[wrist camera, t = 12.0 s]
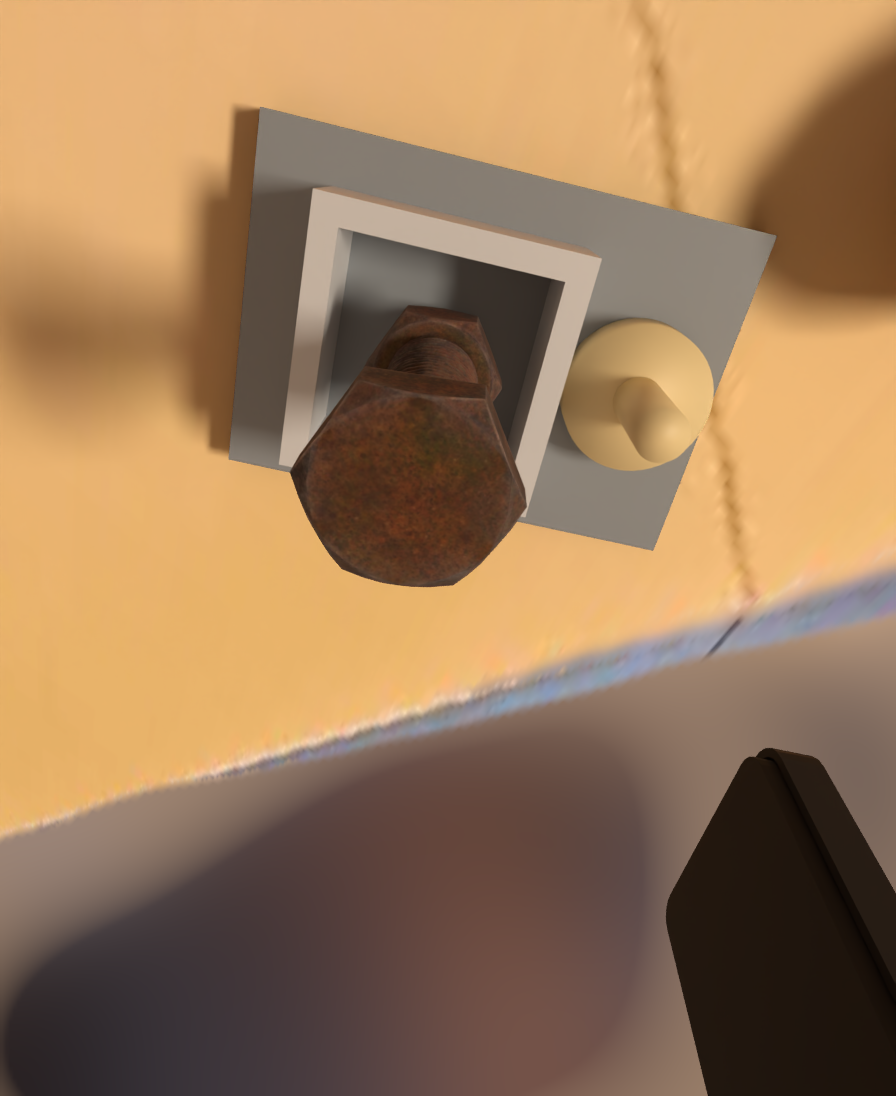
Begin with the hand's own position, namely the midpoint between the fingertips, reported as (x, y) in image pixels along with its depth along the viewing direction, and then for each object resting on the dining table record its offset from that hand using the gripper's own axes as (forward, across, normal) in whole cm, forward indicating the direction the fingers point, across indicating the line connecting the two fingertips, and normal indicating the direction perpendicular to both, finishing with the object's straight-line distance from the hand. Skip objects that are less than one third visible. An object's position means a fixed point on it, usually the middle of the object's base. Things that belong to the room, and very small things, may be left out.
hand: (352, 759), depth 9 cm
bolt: (+24, 0, 0) cm, 25 cm away
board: (+26, -2, 0) cm, 26 cm away
